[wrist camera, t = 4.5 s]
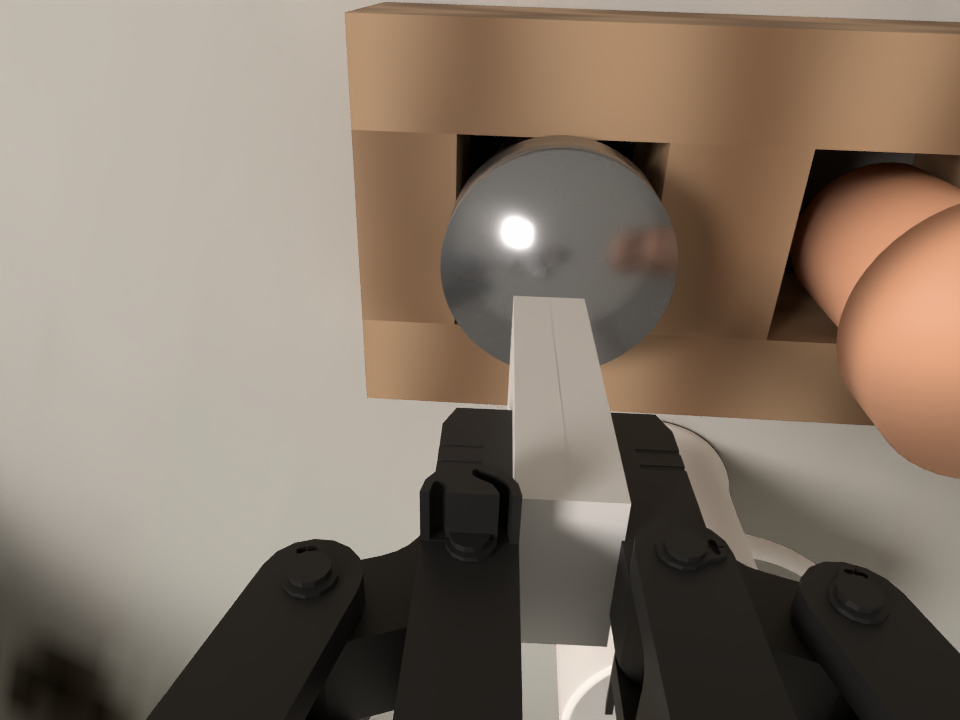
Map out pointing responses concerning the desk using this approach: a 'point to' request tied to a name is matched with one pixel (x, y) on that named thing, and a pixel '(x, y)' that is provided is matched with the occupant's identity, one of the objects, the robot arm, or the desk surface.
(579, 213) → the ball grey
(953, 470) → the peach ball
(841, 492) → the desk surface
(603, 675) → the mug
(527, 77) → the block
